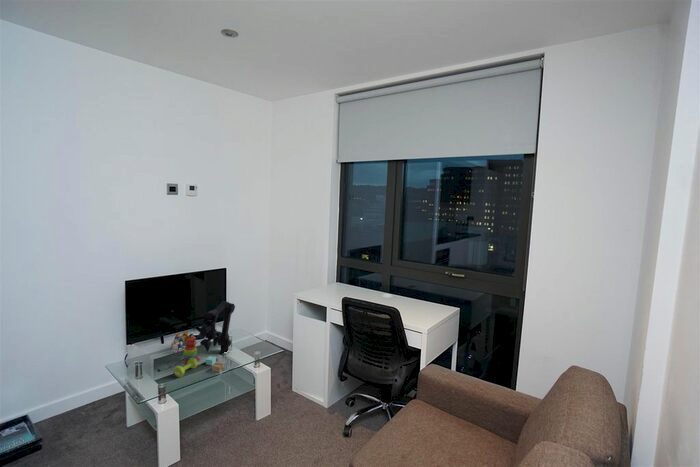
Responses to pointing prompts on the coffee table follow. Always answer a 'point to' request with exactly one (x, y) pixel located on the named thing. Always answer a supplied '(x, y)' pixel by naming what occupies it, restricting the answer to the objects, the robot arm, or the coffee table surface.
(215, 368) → the walnut brick
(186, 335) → the doll family
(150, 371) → the coffee table surface
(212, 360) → the teal brick
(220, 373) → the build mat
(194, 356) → the stacking bear
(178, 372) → the dumbbell
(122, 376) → the coffee table surface
